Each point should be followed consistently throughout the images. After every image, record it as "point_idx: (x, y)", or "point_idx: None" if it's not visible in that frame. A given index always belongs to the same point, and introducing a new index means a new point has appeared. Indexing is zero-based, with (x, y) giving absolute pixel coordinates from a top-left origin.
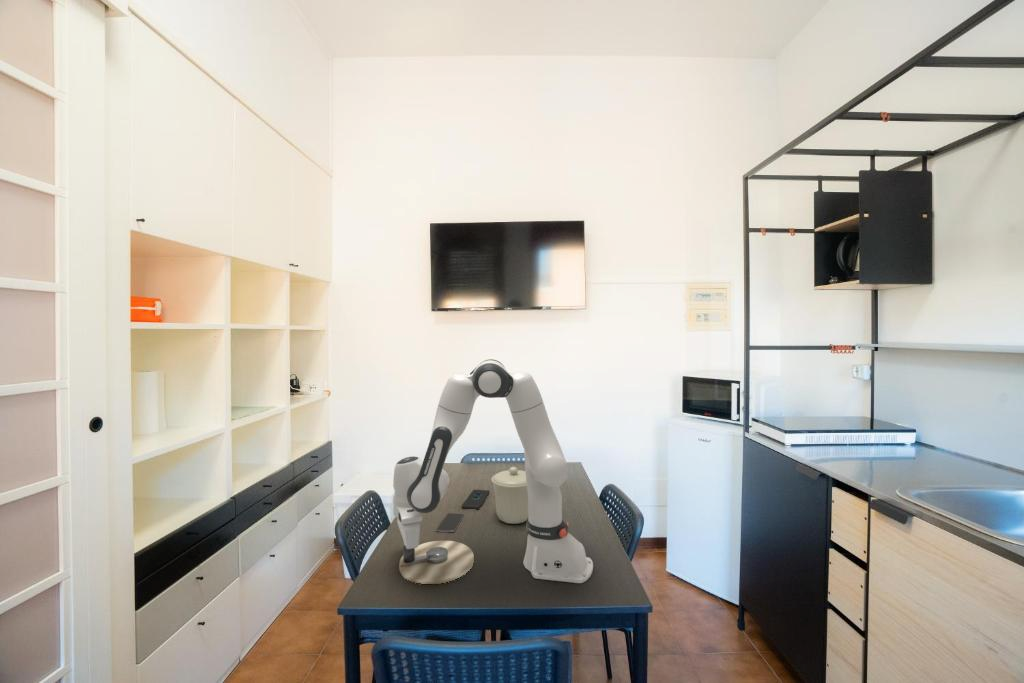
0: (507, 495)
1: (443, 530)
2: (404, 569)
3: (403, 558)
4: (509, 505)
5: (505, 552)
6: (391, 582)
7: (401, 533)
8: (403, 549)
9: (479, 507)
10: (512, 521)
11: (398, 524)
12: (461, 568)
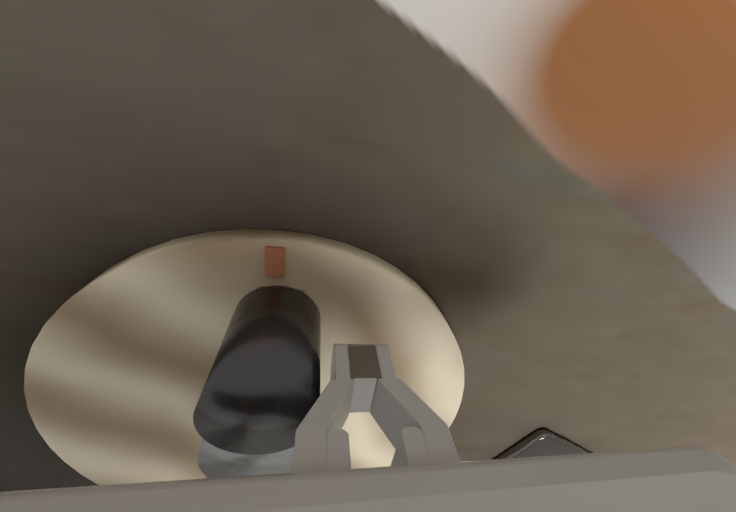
0: None
1: (517, 453)
2: (219, 264)
3: (267, 301)
4: None
5: None
6: (146, 144)
7: (397, 501)
8: (248, 363)
9: None
10: None
11: (664, 488)
12: (129, 482)
